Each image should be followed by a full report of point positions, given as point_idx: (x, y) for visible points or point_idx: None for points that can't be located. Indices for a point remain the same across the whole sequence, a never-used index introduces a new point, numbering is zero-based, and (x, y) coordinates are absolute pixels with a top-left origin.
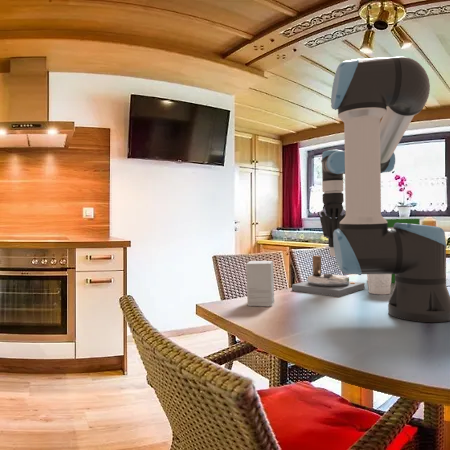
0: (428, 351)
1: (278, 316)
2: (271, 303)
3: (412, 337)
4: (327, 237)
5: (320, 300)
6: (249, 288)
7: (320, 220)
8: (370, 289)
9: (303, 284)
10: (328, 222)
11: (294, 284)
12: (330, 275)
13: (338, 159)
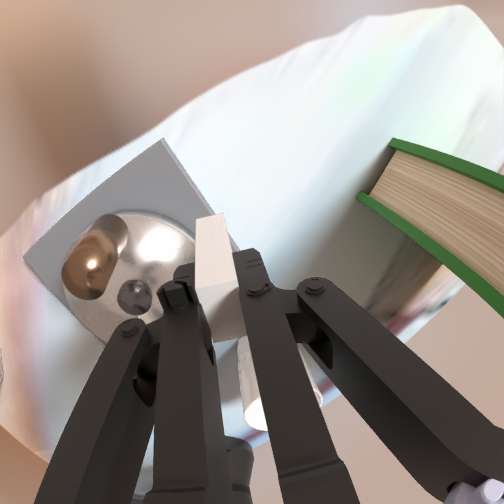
0: (148, 488)
1: (23, 413)
2: (1, 379)
3: (152, 479)
4: (153, 329)
5: (86, 371)
6: None
7: (42, 482)
8: (238, 354)
9: (55, 265)
10: (166, 469)
11: (29, 255)
12: (138, 313)
13: None
